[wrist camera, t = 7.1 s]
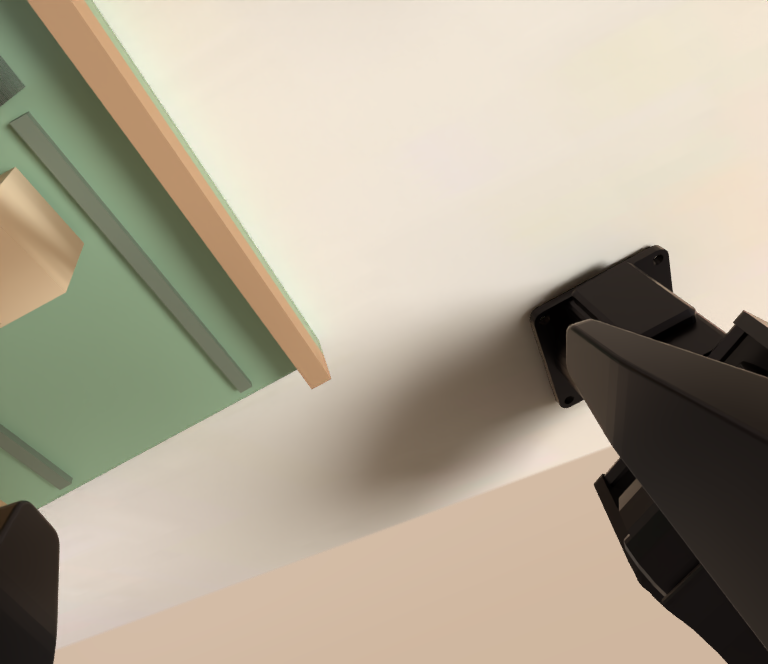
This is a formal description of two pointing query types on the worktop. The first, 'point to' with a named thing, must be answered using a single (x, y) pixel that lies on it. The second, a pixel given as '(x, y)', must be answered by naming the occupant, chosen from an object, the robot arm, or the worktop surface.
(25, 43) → the pitch
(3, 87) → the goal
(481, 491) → the worktop surface
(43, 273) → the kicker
